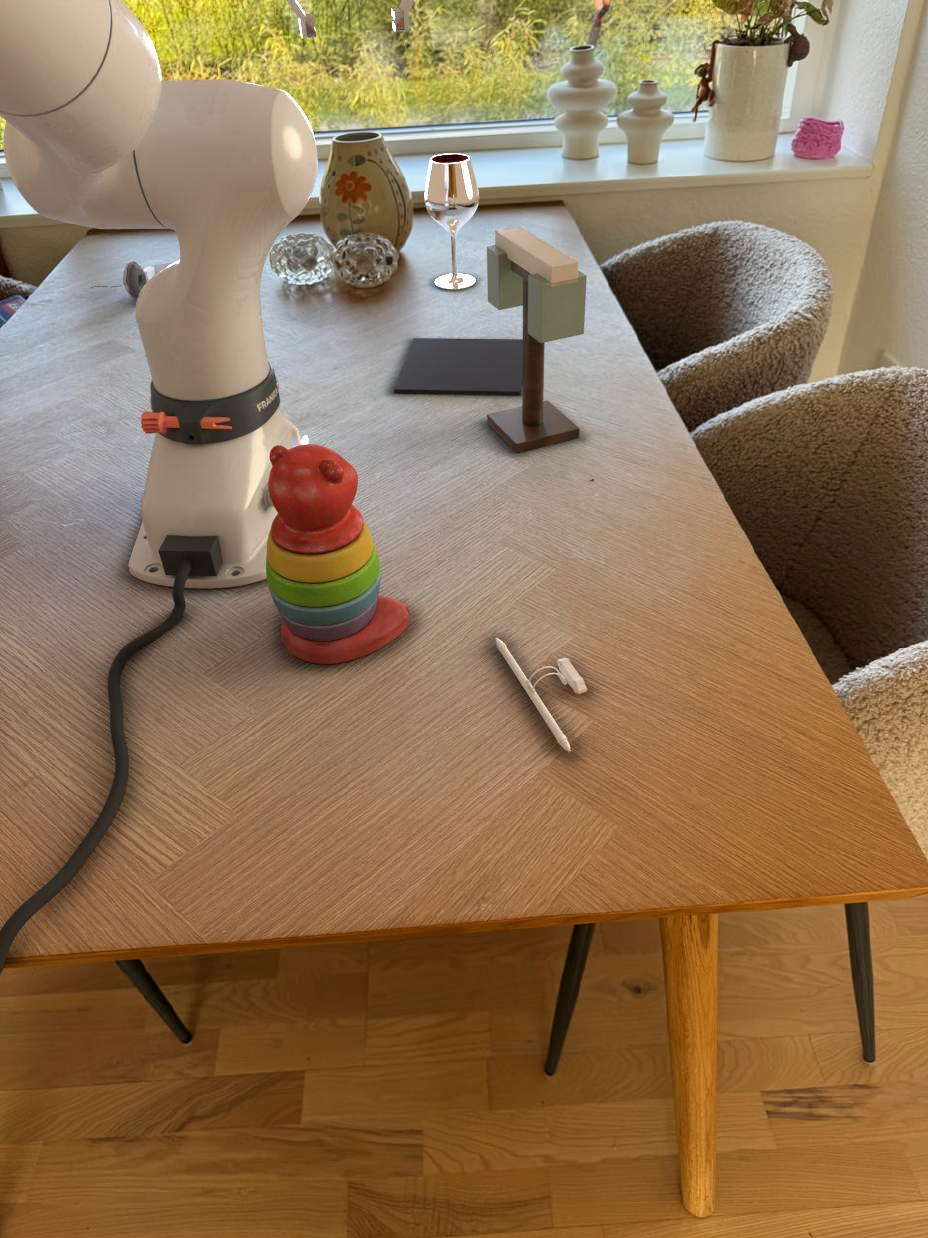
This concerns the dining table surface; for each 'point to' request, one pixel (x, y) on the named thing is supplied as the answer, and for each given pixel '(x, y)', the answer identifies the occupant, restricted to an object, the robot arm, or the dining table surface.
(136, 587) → the dining table surface
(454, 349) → the desk mat
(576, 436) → the stand
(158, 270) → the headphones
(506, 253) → the sage green twin blocks
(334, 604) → the stacking bear
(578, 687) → the picture light
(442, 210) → the wineglass
